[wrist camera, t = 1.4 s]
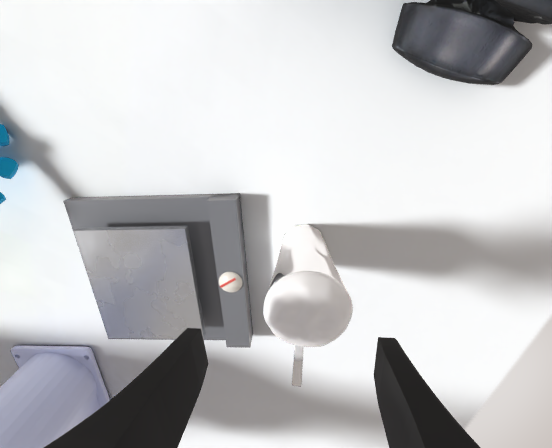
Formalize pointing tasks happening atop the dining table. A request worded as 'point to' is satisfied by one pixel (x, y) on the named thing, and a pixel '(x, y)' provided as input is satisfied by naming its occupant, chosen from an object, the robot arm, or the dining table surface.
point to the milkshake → (306, 295)
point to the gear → (6, 160)
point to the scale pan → (142, 280)
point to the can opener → (467, 36)
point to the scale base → (205, 248)
